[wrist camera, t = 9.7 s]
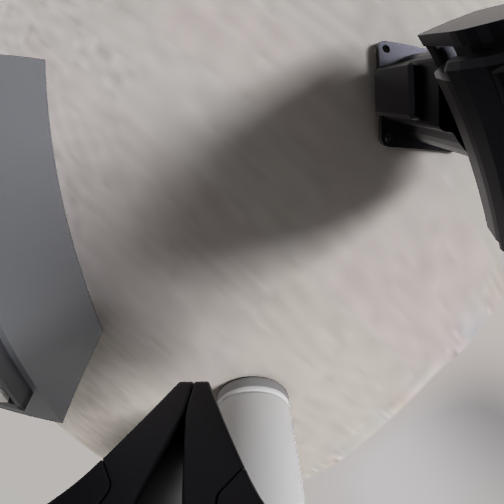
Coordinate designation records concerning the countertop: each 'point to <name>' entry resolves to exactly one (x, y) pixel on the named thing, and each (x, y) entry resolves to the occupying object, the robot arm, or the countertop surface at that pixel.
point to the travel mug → (264, 437)
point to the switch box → (37, 258)
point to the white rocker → (3, 395)
